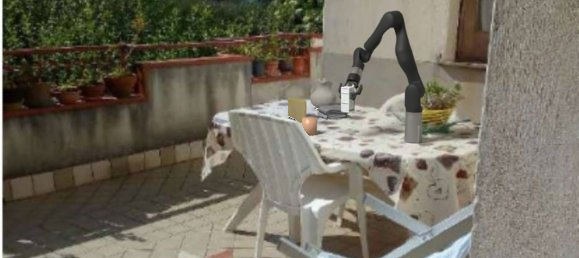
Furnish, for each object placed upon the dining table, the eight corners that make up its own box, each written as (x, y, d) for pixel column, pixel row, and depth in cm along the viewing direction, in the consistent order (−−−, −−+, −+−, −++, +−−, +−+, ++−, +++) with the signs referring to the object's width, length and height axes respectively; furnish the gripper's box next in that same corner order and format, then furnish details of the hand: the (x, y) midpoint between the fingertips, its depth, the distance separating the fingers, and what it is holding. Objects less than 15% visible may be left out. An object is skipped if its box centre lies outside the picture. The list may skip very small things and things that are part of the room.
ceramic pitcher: (308, 108, 441) (306, 76, 436) (333, 106, 443) (332, 74, 438) (313, 113, 420) (310, 79, 415) (339, 111, 422) (337, 77, 417)
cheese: (312, 123, 379) (312, 100, 376) (298, 124, 376) (298, 101, 373) (300, 117, 399) (300, 96, 396) (287, 118, 396) (287, 96, 393)
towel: (316, 116, 404) (316, 105, 402) (339, 114, 411) (339, 104, 409) (326, 120, 390) (326, 109, 389) (349, 118, 397) (350, 107, 396)
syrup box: (348, 112, 327) (349, 87, 324) (340, 111, 331) (340, 86, 328) (354, 111, 332) (355, 86, 329) (346, 110, 335) (346, 85, 332)
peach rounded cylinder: (319, 133, 347) (319, 117, 345) (313, 136, 339) (313, 119, 337) (306, 132, 351) (306, 116, 349) (299, 134, 343) (299, 118, 341)
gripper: (341, 71, 337) (333, 94, 329) (364, 73, 330) (357, 96, 322) (344, 79, 342) (336, 102, 335) (367, 81, 336) (360, 104, 328)
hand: (346, 99), depth 329 cm, fingers closed on syrup box, 7 cm apart
